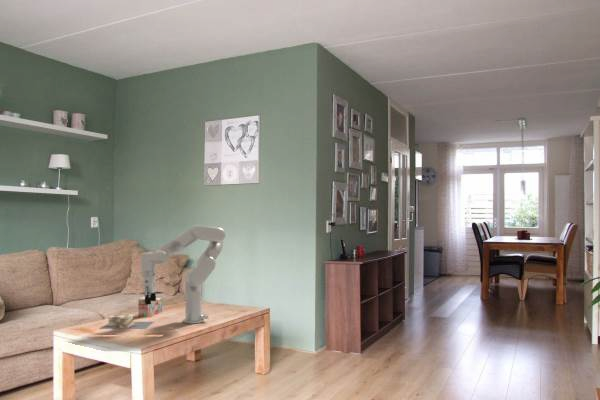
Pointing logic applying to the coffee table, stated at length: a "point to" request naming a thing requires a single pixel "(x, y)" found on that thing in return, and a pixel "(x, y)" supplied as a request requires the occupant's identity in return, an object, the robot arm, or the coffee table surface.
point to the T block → (121, 320)
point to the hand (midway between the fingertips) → (150, 302)
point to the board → (130, 326)
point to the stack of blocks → (149, 307)
